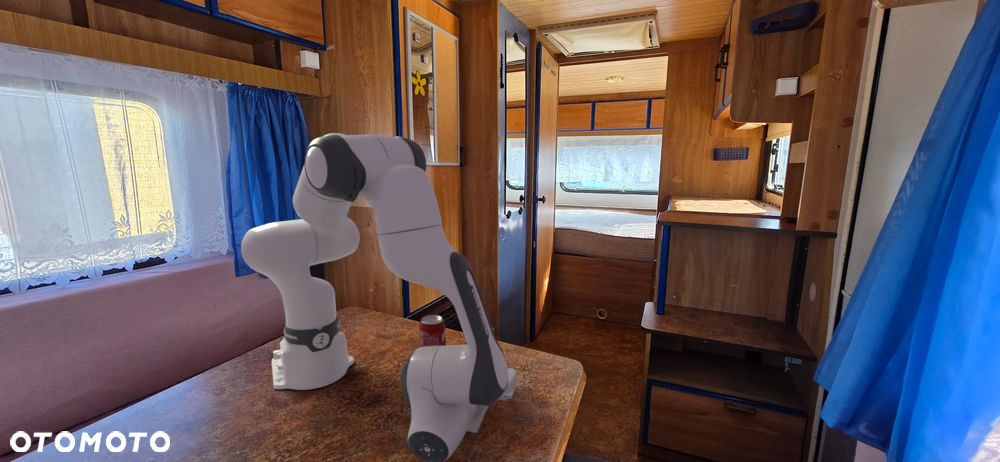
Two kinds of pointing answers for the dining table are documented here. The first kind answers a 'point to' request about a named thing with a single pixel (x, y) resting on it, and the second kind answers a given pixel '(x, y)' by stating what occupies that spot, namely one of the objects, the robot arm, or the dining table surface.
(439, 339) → the soda can
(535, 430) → the dining table surface
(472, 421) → the slider box
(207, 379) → the dining table surface
